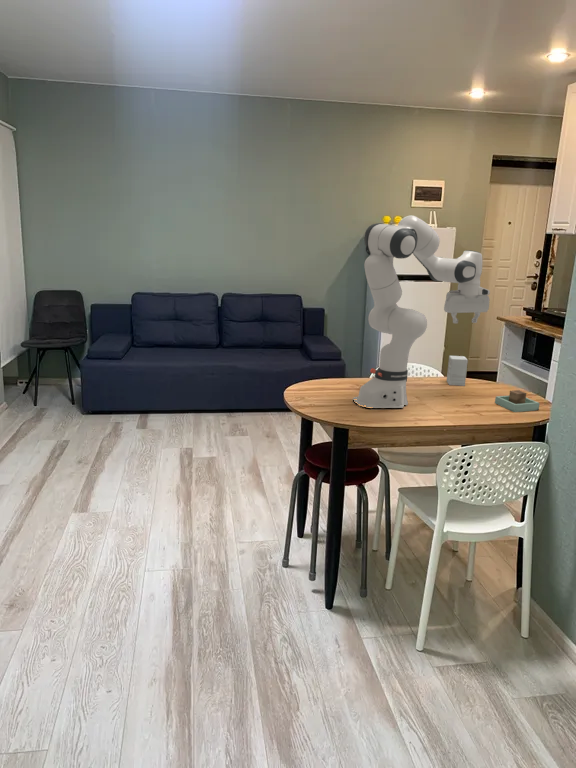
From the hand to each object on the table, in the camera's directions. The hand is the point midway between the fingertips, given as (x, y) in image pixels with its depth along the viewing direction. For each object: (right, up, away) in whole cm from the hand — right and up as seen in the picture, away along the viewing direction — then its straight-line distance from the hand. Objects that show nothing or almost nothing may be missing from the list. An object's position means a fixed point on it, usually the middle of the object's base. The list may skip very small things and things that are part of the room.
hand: (464, 322), depth 246 cm
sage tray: (+19, -35, -9) cm, 41 cm away
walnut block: (+19, -35, -9) cm, 40 cm away
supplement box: (+3, -26, +24) cm, 36 cm away
